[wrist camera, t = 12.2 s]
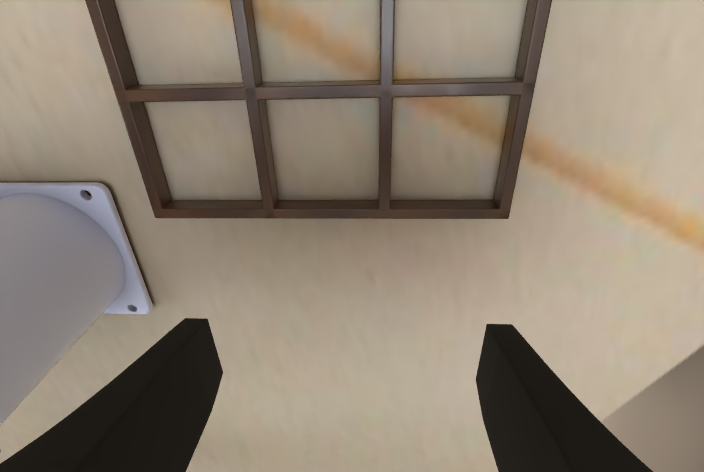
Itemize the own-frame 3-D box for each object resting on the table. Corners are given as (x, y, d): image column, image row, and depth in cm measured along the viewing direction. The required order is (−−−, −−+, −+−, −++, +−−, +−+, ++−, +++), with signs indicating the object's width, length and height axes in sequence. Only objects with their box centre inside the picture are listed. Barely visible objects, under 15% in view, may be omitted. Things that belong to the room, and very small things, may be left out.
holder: (165, 209, 19) (154, 218, 18) (78, -75, 14) (58, -80, 13) (502, 209, 18) (508, 219, 17) (560, -99, 12) (573, -107, 12)
